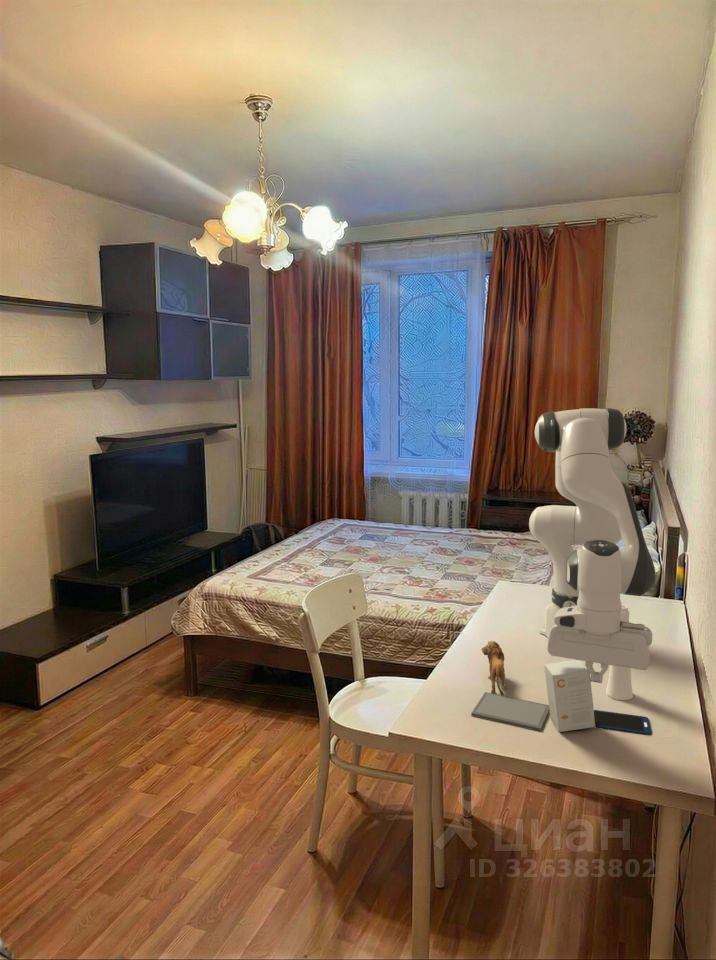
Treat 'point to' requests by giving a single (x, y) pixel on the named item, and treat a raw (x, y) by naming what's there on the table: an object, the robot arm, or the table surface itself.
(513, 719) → the grey tablet
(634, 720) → the cell phone
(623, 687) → the cosmetic bottle
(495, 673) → the lion figurine
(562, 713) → the small box
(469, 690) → the table surface
